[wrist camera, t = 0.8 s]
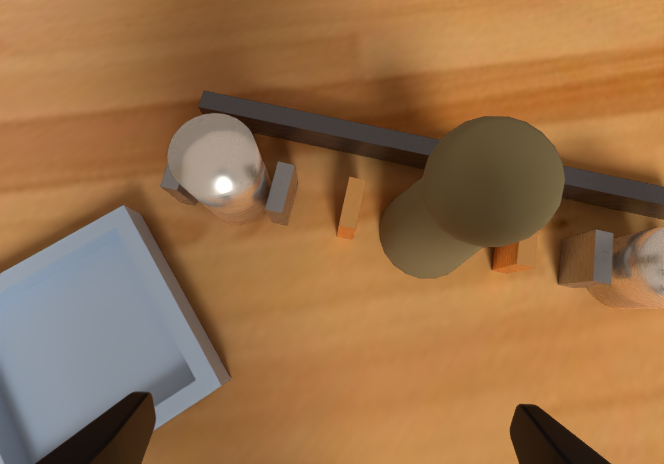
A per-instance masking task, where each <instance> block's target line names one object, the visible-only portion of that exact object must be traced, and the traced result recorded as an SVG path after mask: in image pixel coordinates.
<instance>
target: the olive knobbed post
mask: <svg viewBox="0 0 664 464" xmlns="http://www.w3.org/2000/svg"><path fill="white" fill-rule="evenodd" d="M564 183H565V177H564V170H563V163H562V160H561V158H560V156H559V154H558V152H557V150H556V148H555V146H554V145H553V144H552V143H551V142H550V140H549V139H548V138H547V137H546V136H545V135H544V134H543V133H542V132H541V131H539V130H538V129H536V128H535V127H533V126H531V125H530V124H528V123H527V122H524V121H521V120H518V119H514V118H511V117H495V116H483V117H480V118H476V119H473V120H469V121H466V122H464V123H462V124H461V125H459V126H458V127H456V128H455V129H453V130H452V131H450V132H449V133H447V134H446V135H445V136H443V137H442V139H441V140H440V141H439V143H438V144H437V145H436V147H435V148H434V150H433V151H432V152H431V154H430V156H429V157H428V160H427V163H426V167H425V170H424V174H423V177H422V178H421V179H420V180H418V181H417V182H416V183H414V184H413V185H412V186H411V187H409V188H408V189H407V190H405V191H404V192H403V193H401V194H400V195H399V196H398V197H396V198H395V199H394V200H392V201H391V203H390V204H389V205H388V207H387V208H386V209H385V211H384V212H383V216H382V219H381V222H380V241H381V244H382V247H383V250H384V252H385V254H386V255H387V257H388V258H389V259H390V261H391V262H392V263H393V265H395V266H396V267H397V268H399V269H400V270H402V271H403V272H404V273H406V274H408V275H411V276H415V277H418V278H438V277H441V276H444V275H447V274H449V273H451V272H452V271H453V270H455V269H456V268H457V267H458V266H460V265H461V264H462V263H464V262H465V261H466V260H467V259H469V258H470V257H471V256H472V255H474V254H475V253H476V252H478V251H479V250H480V249H481V248H483V247H503V246H506V245H509V244H513V243H516V242H519V241H522V240H525V239H528V238H530V237H531V236H532V235H534V234H535V233H536V232H537V231H539V230H540V229H541V228H543V227H544V226H545V225H546V224H547V223H548V222H549V221H550V220H551V219H552V217H553V215H554V214H555V212H556V211H557V209H558V207H559V206H560V204H561V199H562V193H563V188H564Z"/></svg>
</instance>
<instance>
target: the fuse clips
mask: <svg viewBox="0 0 664 464" xmlns="http://www.w3.org/2000/svg"><path fill="white" fill-rule="evenodd" d="M198 107H199V109H200V111H201V112H202V114H203V115H201V116H198V117H195V118H193V119H191V120H189V121H188V122H186V123H185V124H184V125H182V126H181V127H180V128H179V129H178V130H177V132H176V133H175V134H174V136H173V138H172V140H171V142H170V145H169V148H168V165H167V168H166V171H165V174H164V177H163V180H162V183H161V186H160V187H161V188H163V189H164V190H165V191H167V192H168V193H169V194H171V195H172V196H173V197H175V198H176V199H177V200H179V201H180V202H182V203H187V204H191V205H196V202H197V200H198V201H199V202H200V203H202V204H203V205H204V206H205V207H206V208H207V209H208V210H210V211H211V212H212V213H213V214H214V215H215V216H216V217H218V218H219V219H220V220H222V221H224V222H226V223H229V224H235V225H242V224H247V223H250V222H253V221H255V220H257V219H258V218H260V217H261V216H262V215H263V214H264V213H265V212H267V214H268V215H269V217H270V219H271V221H272V222H274V223H278V224H283V225H288V221H289V217H290V213H291V209H292V205H293V201H294V198H295V194H296V190H297V186H298V180H297V175H296V170H295V165H292V164H287V163H283V162H278V163H277V167H276V171H275V174H274V178H273V182H271V179H270V177H269V174H268V172H267V169H266V167H265V164H264V162H263V159H262V157H261V154H260V152H259V149H258V147H257V144H256V142H255V139H254V137H253V135H252V133H251V132H253V133H258V134H262V135H267V136H272V137H276V138H281V139H286V140H291V141H295V142H300V143H305V144H309V145H314V146H319V147H324V148H328V149H333V150H338V151H342V152H347V153H352V154H357V155H361V156H366V157H371V158H376V159H380V160H385V161H390V162H394V163H399V164H404V165H409V166H413V167H418V168H423V169H425V167H426V163H427V160H428V157H429V156H430V154H431V152H432V151H433V150H434V148H435V147H436V145H437V144H438V143H439V141H440V140H437V139H433V138H428V137H423V136H418V135H414V134H409V133H404V132H399V131H394V130H390V129H385V128H380V127H375V126H371V125H366V124H361V123H356V122H351V121H347V120H342V119H337V118H332V117H328V116H323V115H318V114H313V113H309V112H304V111H299V110H294V109H289V108H285V107H280V106H275V105H270V104H266V103H261V102H256V101H251V100H246V99H242V98H237V97H232V96H227V95H223V94H218V93H213V92H208V91H203V94H202V97H201V100H200V103H199V106H198ZM563 170H564V177H565V183H564V188H563V193H562V198H564V199H569V200H574V201H579V202H583V203H588V204H593V205H597V206H602V207H607V208H612V209H616V210H621V211H626V212H630V213H635V214H640V215H645V216H649V217H654V218H659V219H664V187H662V186H657V185H652V184H647V183H643V182H638V181H633V180H628V179H624V178H619V177H614V176H609V175H604V174H600V173H595V172H590V171H585V170H581V169H576V168H571V167H566V166H563ZM365 183H366V180H362V179H358V178H353V177H349V181H348V186H347V190H346V195H345V199H344V204H343V208H342V213H341V217H340V222H339V227H338V232H337V236H338V237H343V238H347V239H352V238H353V235H354V233H355V230H356V227H357V222H358V217H359V212H360V207H361V203H362V198H363V193H364V188H365ZM537 235H538V231H537V232H536V233H535V234H534V235H532V236H531V237H530V238H528V239H525V240H522V241H519V242H516V243H513V244H509V245H506V246H503V247H495V249H494V257H493V266H492V270H494V271H498V272H503V273H512V272H517V271H522V270H527V269H531V268H535V257H536V246H537ZM558 285H563V286H567V287H572V288H579V287H587V288H588V290H589V291H590V293H591V294H592V295H593V296H594V297H595V298H596V299H597V300H599V301H600V302H601V303H603V304H605V305H607V306H610V307H613V308H618V309H637V308H664V226H661V227H657V228H653V229H649V230H645V231H641V232H637V233H633V234H629V235H625V236H621V237H617V238H614V239H613V233H611V232H606V231H601V230H597V229H596V230H592V231H589V232H586V233H582V234H579V235H576V236H572V237H569V238H566V239H562V244H561V258H560V271H559V284H558Z"/></svg>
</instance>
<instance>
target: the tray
mask: <svg viewBox="0 0 664 464" xmlns="http://www.w3.org/2000/svg"><path fill="white" fill-rule="evenodd" d="M230 379H231V378H230V376H229V374H228V372H227V371H226V369H225V367H224V365H223V363H222V362H221V360H220V358H219V356H218V354H217V352H216V351H215V349H214V347H213V345H212V343H211V341H210V340H209V338H208V336H207V334H206V332H205V330H204V329H203V327H202V325H201V323H200V321H199V320H198V318H197V316H196V314H195V312H194V310H193V309H192V307H191V305H190V303H189V301H188V299H187V298H186V296H185V294H184V292H183V290H182V289H181V287H180V285H179V283H178V281H177V279H176V278H175V276H174V274H173V272H172V270H171V268H170V267H169V265H168V263H167V261H166V259H165V258H164V256H163V254H162V252H161V250H160V248H159V247H158V245H157V243H156V241H155V239H154V237H153V236H152V234H151V232H150V230H149V228H148V226H147V225H146V223H145V221H144V219H143V217H142V216H141V214H140V213H138V212H136V211H134V210H132V209H130V208H129V207H127V206H125V205H122V206H121V207H119V208H117V209H115V210H113V211H112V212H110V213H108V214H106V215H104V216H103V217H101V218H99V219H97V220H95V221H94V222H92V223H90V224H88V225H86V226H85V227H83V228H81V229H79V230H77V231H76V232H74V233H72V234H70V235H68V236H67V237H65V238H63V239H61V240H60V241H58V242H56V243H54V244H52V245H51V246H49V247H47V248H45V249H43V250H42V251H40V252H38V253H36V254H34V255H33V256H31V257H29V258H27V259H25V260H24V261H22V262H20V263H18V264H16V265H15V266H13V267H11V268H9V269H7V270H6V271H4V272H2V273H0V464H35V463H36V462H38V461H39V460H40V459H42V458H43V457H44V456H46V455H47V454H48V453H50V452H51V451H53V450H54V449H55V448H57V447H58V446H59V445H61V444H62V443H63V442H65V441H66V440H67V439H69V438H70V437H71V436H73V435H74V434H76V433H77V432H78V431H80V430H81V429H82V428H84V427H85V426H86V425H88V424H89V423H90V422H92V421H93V420H95V419H96V418H97V417H99V416H100V415H101V414H103V413H104V412H105V411H107V410H108V409H109V408H111V407H112V406H113V405H115V404H116V403H118V402H119V401H120V400H122V399H123V398H124V397H126V396H127V395H128V394H130V393H132V392H134V391H144V392H150V393H151V394H152V397H153V402H154V408H155V413H156V423H155V427H154V430H155V429H157V428H158V427H160V426H161V425H163V424H165V423H166V422H168V421H169V420H171V419H172V418H174V417H175V416H177V415H178V414H180V413H181V412H183V411H184V410H186V409H187V408H189V407H190V406H192V405H193V404H195V403H196V402H198V401H199V400H201V399H202V398H204V397H206V396H207V395H209V394H210V393H212V392H213V391H215V390H216V389H218V388H219V387H221V386H222V385H224V384H225V383H226V382H228V381H229V380H230ZM154 430H153V431H154Z"/></svg>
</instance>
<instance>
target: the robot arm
mask: <svg viewBox="0 0 664 464" xmlns="http://www.w3.org/2000/svg"><path fill="white" fill-rule="evenodd" d="M155 423H156V413H155V408H154V402H153V397H152V394H151V393H150V392H144V391H134V392H132V393H130V394H128V395H127V396H126V397H124V398H123V399H122V400H120V401H119V402H118V403H116V404H115V405H113V406H112V407H111V408H109V409H108V410H107V411H105V412H104V413H103V414H101V415H100V416H99V417H97V418H96V419H95V420H93V421H92V422H90V423H89V424H88V425H86V426H85V427H84V428H82V429H81V430H80V431H78V432H77V433H76V434H74V435H73V436H71V437H70V438H69V439H67V440H66V441H65V442H63V443H62V444H61V445H59V446H58V447H57V448H55V449H54V450H53V451H51V452H50V453H48V454H47V455H46V456H44V457H43V458H42V459H40V460H39V461H38V462H36V463H35V464H141V463H142V460H143V457H144V454H145V452H146V449H147V446H148V444H149V441H150V438H151V435H152V433H153V430H154V427H155ZM510 437H511V440H512V443H513V446H514V449H515V452H516V455H517V458H518V461H519V464H611V463H610V462H608V461H607V460H606V459H605V458H603V457H602V456H601V455H599V454H598V453H597V452H596V451H594V450H593V449H592V448H591V447H589V446H588V445H587V444H585V443H584V442H583V441H582V440H580V439H579V438H578V437H577V436H575V435H574V434H573V433H571V432H570V431H569V430H568V429H566V428H565V427H564V426H563V425H561V424H560V423H559V422H557V421H556V420H555V419H554V418H552V417H551V416H550V415H549V414H547V413H546V412H545V411H543V410H542V409H541V408H540V407H538V406H536V405H534V404H519V405H518V406H517V407H516V409H515V413H514V416H513V419H512V422H511V426H510Z"/></svg>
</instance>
